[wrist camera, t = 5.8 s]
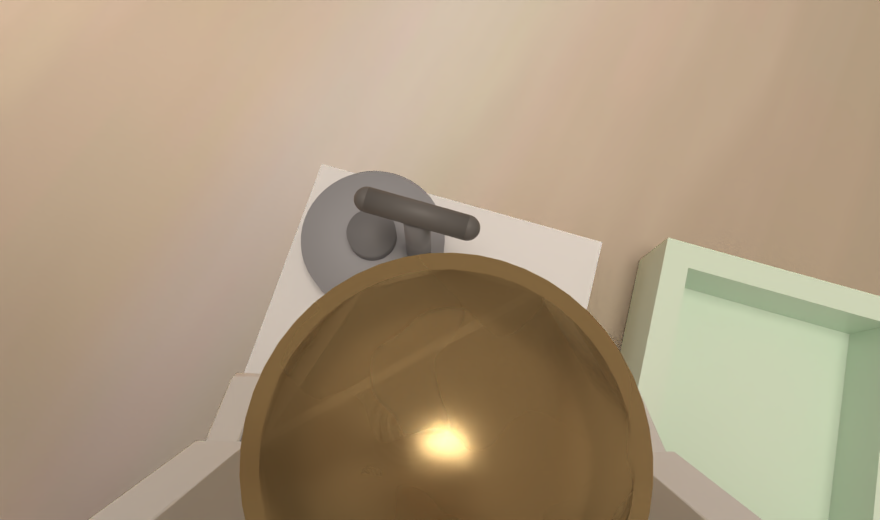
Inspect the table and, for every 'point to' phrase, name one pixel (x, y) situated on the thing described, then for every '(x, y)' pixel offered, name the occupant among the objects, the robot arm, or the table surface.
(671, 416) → the tray
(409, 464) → the amber drinking glass
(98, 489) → the table surface
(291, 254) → the crank jig
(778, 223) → the table surface
